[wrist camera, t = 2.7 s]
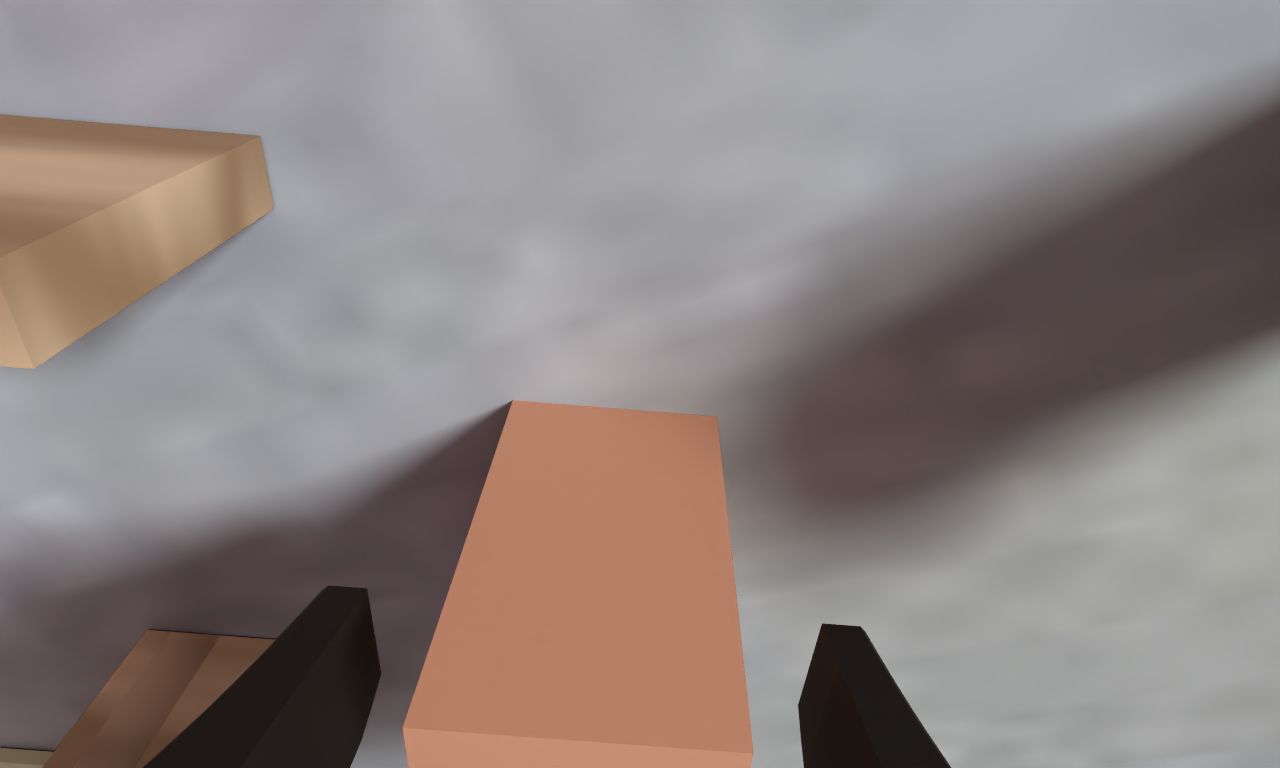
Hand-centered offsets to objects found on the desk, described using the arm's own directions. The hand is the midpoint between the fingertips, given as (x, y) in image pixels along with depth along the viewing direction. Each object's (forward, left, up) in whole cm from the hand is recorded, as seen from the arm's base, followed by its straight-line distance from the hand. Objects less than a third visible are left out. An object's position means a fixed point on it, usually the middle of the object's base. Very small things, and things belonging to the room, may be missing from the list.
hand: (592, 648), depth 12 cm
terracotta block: (0, 0, -4) cm, 4 cm away
